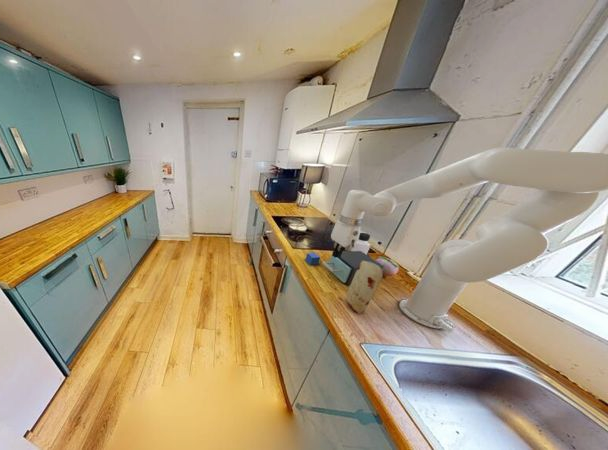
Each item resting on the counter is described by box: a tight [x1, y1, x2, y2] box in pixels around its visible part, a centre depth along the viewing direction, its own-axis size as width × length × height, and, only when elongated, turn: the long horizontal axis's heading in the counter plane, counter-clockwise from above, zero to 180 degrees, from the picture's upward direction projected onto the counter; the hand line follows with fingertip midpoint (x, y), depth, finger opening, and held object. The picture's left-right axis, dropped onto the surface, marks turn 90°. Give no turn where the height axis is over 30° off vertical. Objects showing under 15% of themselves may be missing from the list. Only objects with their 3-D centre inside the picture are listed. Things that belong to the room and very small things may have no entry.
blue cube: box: [305, 252, 321, 266], centre depth 104 cm, size 4×4×4 cm
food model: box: [346, 261, 383, 314], centre depth 74 cm, size 10×7×20 cm
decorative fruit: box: [374, 256, 400, 277], centre depth 95 cm, size 9×8×10 cm
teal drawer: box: [321, 254, 352, 284], centre depth 93 cm, size 19×11×8 cm, turn 97°
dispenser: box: [339, 251, 384, 286], centre depth 94 cm, size 15×13×10 cm
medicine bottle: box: [350, 231, 372, 256], centre depth 114 cm, size 7×7×12 cm
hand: (336, 256), depth 90 cm, fingers closed
